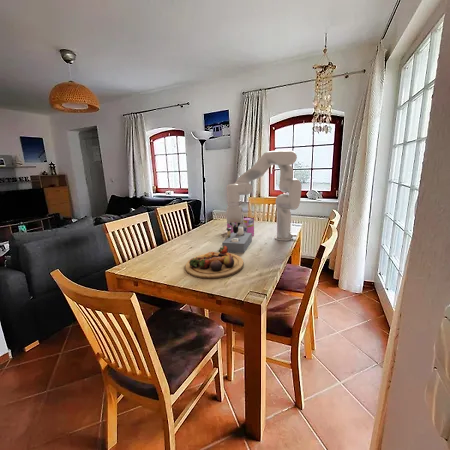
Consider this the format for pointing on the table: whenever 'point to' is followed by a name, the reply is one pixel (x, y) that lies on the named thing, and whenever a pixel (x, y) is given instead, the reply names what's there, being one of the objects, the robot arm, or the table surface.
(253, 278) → the table surface
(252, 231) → the gum box
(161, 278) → the table surface
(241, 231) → the knob
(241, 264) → the wooden plate with food
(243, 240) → the panel
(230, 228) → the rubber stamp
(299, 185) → the robot arm
